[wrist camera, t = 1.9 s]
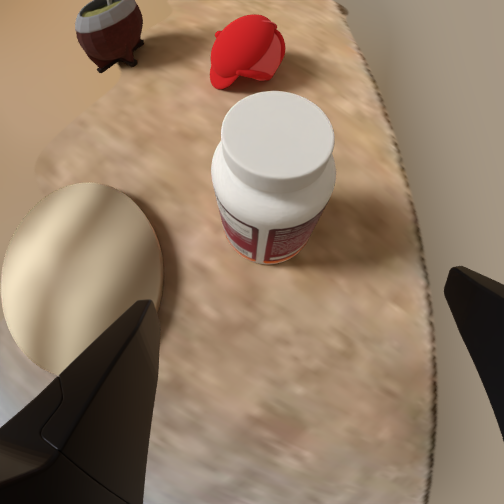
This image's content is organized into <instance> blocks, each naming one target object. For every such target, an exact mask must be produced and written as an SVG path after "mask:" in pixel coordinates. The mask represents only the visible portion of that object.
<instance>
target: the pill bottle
mask: <svg viewBox="0 0 504 504" xmlns="http://www.w3.org/2000/svg"><path fill="white" fill-rule="evenodd" d="M333 148H334V131H333V128H332V125H331V123H330V121H329V119H328V117H327V116H326V115H325V113H324V112H323V111H322V110H321V109H320V108H319V107H318V106H317V105H315V104H314V103H313V102H311V101H309V100H308V99H306V98H304V97H301V96H299V95H296V94H293V93H288V92H282V91H266V92H260V93H256V94H253V95H250V96H248V97H245V98H244V99H242V100H240V101H239V102H237V103H236V104H235V105H234V106H233V107H232V108H231V109H230V110H229V112H228V113H227V114H226V116H225V118H224V121H223V124H222V129H221V141H220V143H219V144H218V146H217V148H216V150H215V153H214V156H213V159H212V167H211V174H212V182H213V187H214V191H215V195H216V199H217V203H218V207H219V211H220V216H221V220H222V224H223V228H224V232H225V235H226V237H227V239H228V241H229V243H230V245H231V246H232V247H233V249H234V250H235V251H236V252H237V253H238V254H240V255H241V256H242V257H244V258H246V259H247V260H250V261H252V262H255V263H259V264H276V263H281V262H284V261H286V260H288V259H290V258H292V257H294V256H295V255H296V254H297V253H299V252H300V250H301V249H302V248H303V247H304V246H305V244H306V243H307V241H308V239H309V237H310V235H311V233H312V231H313V229H314V228H315V226H316V224H317V222H318V220H319V218H320V216H321V214H322V212H323V210H324V208H325V207H326V205H327V203H328V201H329V199H330V196H331V194H332V192H333V189H334V186H335V180H336V168H335V162H334V158H333V155H332V152H333Z"/></svg>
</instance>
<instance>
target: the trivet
mask: <svg viewBox="0 0 504 504" xmlns="http://www.w3.org/2000/svg"><path fill="white" fill-rule="evenodd" d="M163 284H164V266H163V258H162V252H161V248H160V244H159V241H158V238H157V236H156V233H155V231H154V229H153V227H152V225H151V223H150V221H149V220H148V219H147V217H146V216H145V215H144V213H143V212H142V211H141V209H140V208H139V207H138V206H137V205H136V204H135V203H134V202H133V201H132V200H131V199H130V198H129V197H128V196H126V195H125V194H124V193H122V192H121V191H119V190H117V189H115V188H113V187H110V186H107V185H104V184H99V183H78V184H72V185H69V186H66V187H63V188H61V189H58V190H56V191H54V192H52V193H51V194H49V195H48V196H46V197H45V198H43V199H42V200H41V201H40V202H38V203H37V204H36V205H35V206H34V207H33V208H32V209H31V210H30V211H29V212H28V213H27V215H26V216H25V217H24V218H23V220H22V221H21V223H20V224H19V226H18V227H17V229H16V231H15V233H14V235H13V236H12V238H11V241H10V243H9V246H8V248H7V251H6V255H5V258H4V263H3V268H2V276H1V299H2V306H3V311H4V316H5V319H6V322H7V325H8V328H9V330H10V332H11V334H12V336H13V338H14V340H15V341H16V343H17V345H18V346H19V348H20V349H21V350H22V351H23V353H24V354H25V355H26V356H27V357H28V358H29V359H30V360H31V361H32V362H34V363H35V364H36V365H38V366H39V367H40V368H42V369H44V370H46V371H48V372H50V373H53V374H56V375H59V374H60V373H61V372H62V371H63V370H64V369H65V368H66V367H67V366H68V365H69V364H70V363H71V362H72V361H74V360H75V359H76V358H77V357H78V356H79V355H80V354H81V353H82V352H83V351H84V350H85V349H86V348H87V347H88V346H89V345H90V344H91V343H92V342H93V341H94V340H95V339H96V338H97V337H98V336H100V335H101V334H102V333H103V332H104V331H105V330H106V329H107V328H108V327H109V326H110V325H111V324H112V323H113V322H114V321H115V320H116V319H118V318H119V317H120V316H121V315H122V314H123V313H124V312H125V311H126V310H127V309H128V308H129V307H131V306H132V305H133V304H134V303H135V302H136V301H137V300H144V299H151V300H152V301H153V303H154V305H155V308H156V312H157V313H158V310H159V306H160V302H161V298H162V292H163Z"/></svg>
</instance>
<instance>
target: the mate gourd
mask: <svg viewBox="0 0 504 504" xmlns="http://www.w3.org/2000/svg"><path fill="white" fill-rule="evenodd" d="M142 24H143V19H142V14H141V11H140V9H139V7H138V5H137V4H136V2H135V0H93V1H92V2H90V3H88V4H87V5H86V6H84V7H83V8H82V9H81V11H80V12H79V14H78V16H77V18H76V24H75V30H76V34H77V39H78V42H79V43H80V45H81V47H82V48H83V50H84V51H85V52H86V54H87V56H88V57H89V58H90V59H91V60H92V61H93V62H94V63H95V64H96V65H97V66H98V67H99V68H98V69H97V71H98V72H99V73H103V72H104V71H106V70H107V69H108V68H110V67H111V66H113V65H114V64H115V63H117V62H118V61H122V62H124V63H126V64H128V65H129V66H131V67H134V66H135V65H137V60H135V59H134V58H133V51H134V50H136V49H137V48H139V47H141V46H142V45H144V41H143V40H140V35H141V31H142Z"/></svg>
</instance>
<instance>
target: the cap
mask: <svg viewBox="0 0 504 504" xmlns="http://www.w3.org/2000/svg"><path fill="white" fill-rule="evenodd" d="M276 29H277V25H276V24H275V23H273V22H271V21H270V20H269V19H268V18H266V17H264V16H262V15H247V16H243V17H240V18H238V19H236V20H235V21H233V22H231V23H230V24H229V25H228V26H226V27H225V28H224V29H223V30H222V31H217V32H216V33H215V37H216V38H217V39H216V40H215V42H214V45H213V47H212V51H211V69H210V80H211V83H212V85H213V86H214V87H215V88H216V89H224V88H226V87H228V86H230V85H231V84H232V83H233V82H234V81H235V80H236V79H237V78H238V76H239V75H240V76H244V77H248V78H254V79H256V80H260V81H262V80H270V79H271V78H272V77H273V75H274V74H275V72H276V70H277V68H278V67H279V65H280V63H281V62H282V60H283V57H284V55H285V42H284V39H283V36H282V35H281V33H280V32H279V31H278V30H276Z"/></svg>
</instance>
